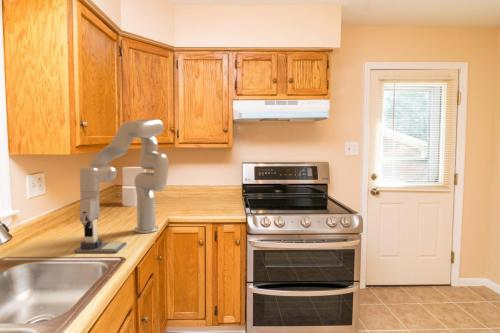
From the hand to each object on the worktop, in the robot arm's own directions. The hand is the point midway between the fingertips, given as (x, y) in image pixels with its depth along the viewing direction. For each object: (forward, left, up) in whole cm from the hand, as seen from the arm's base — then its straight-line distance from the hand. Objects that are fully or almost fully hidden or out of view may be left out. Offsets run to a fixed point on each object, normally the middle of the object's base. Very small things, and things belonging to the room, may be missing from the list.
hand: (91, 234), depth 148 cm
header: (0, +5, -6) cm, 8 cm away
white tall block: (-105, -15, -7) cm, 106 cm away
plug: (0, 0, -3) cm, 3 cm away
